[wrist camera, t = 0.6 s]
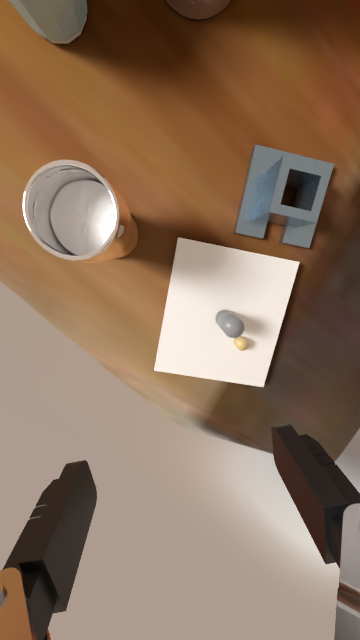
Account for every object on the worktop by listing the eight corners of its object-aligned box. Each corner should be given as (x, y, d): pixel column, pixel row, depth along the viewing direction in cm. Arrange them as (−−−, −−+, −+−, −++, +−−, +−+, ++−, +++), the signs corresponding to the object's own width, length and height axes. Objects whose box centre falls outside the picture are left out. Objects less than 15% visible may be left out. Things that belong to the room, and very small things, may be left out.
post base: (177, 238, 32) (180, 233, 26) (293, 262, 34) (323, 262, 28) (154, 366, 36) (152, 388, 30) (259, 382, 38) (278, 406, 32)
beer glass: (108, 191, 31) (56, 130, 16) (153, 230, 32) (142, 205, 18) (75, 237, 32) (-2, 218, 17) (120, 272, 33) (84, 283, 19)
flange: (252, 148, 30) (269, 126, 26) (328, 166, 31) (358, 149, 27) (233, 233, 33) (245, 228, 28) (305, 248, 34) (328, 246, 29)
